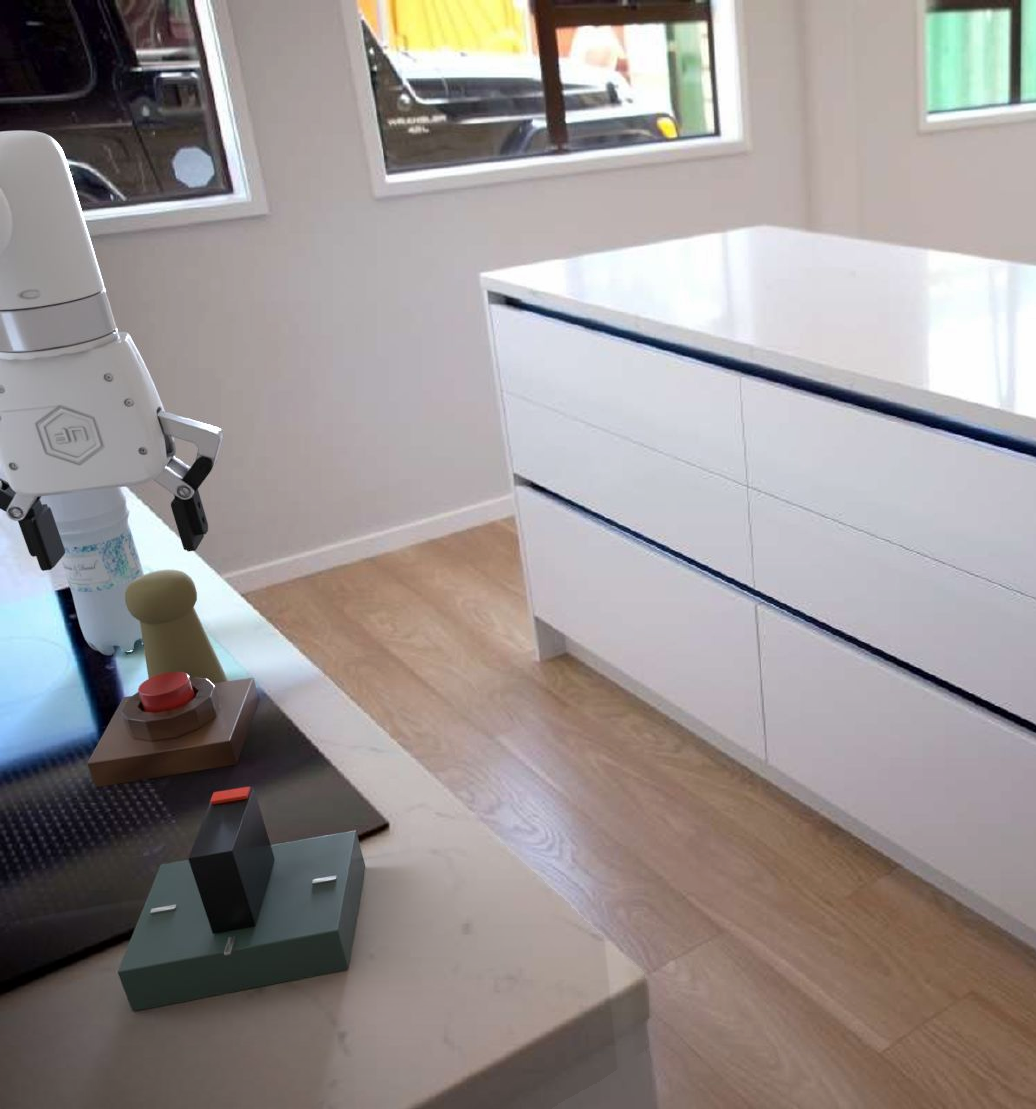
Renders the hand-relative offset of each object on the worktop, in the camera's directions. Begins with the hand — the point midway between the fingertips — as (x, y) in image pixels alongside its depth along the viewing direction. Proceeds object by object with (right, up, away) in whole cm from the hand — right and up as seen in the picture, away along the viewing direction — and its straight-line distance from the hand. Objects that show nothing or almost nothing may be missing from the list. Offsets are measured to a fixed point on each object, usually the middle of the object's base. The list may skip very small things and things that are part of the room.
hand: (125, 553), depth 93 cm
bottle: (-13, -8, +23) cm, 28 cm away
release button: (0, -12, +6) cm, 13 cm away
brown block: (+1, -15, +7) cm, 17 cm away
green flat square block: (+16, -24, -14) cm, 32 cm away
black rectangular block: (+16, -21, -15) cm, 31 cm away
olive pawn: (-2, -12, +14) cm, 19 cm away
